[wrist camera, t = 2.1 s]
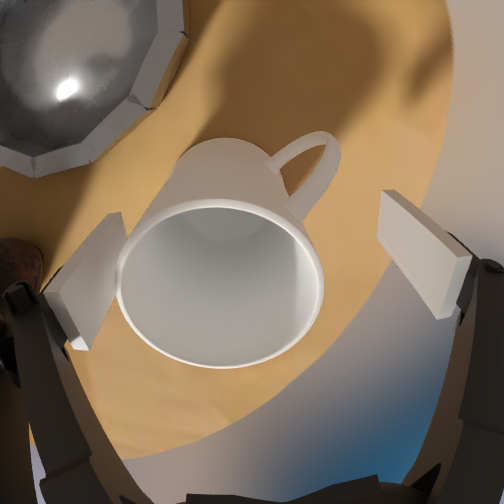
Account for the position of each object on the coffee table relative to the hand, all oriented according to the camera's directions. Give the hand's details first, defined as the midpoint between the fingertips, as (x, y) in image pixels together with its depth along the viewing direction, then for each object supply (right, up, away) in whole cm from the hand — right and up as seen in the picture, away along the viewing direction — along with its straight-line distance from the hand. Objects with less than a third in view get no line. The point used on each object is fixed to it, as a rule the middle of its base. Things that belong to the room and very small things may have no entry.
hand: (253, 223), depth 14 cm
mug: (-1, +4, +7) cm, 8 cm away
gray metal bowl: (-14, +14, 0) cm, 19 cm away
